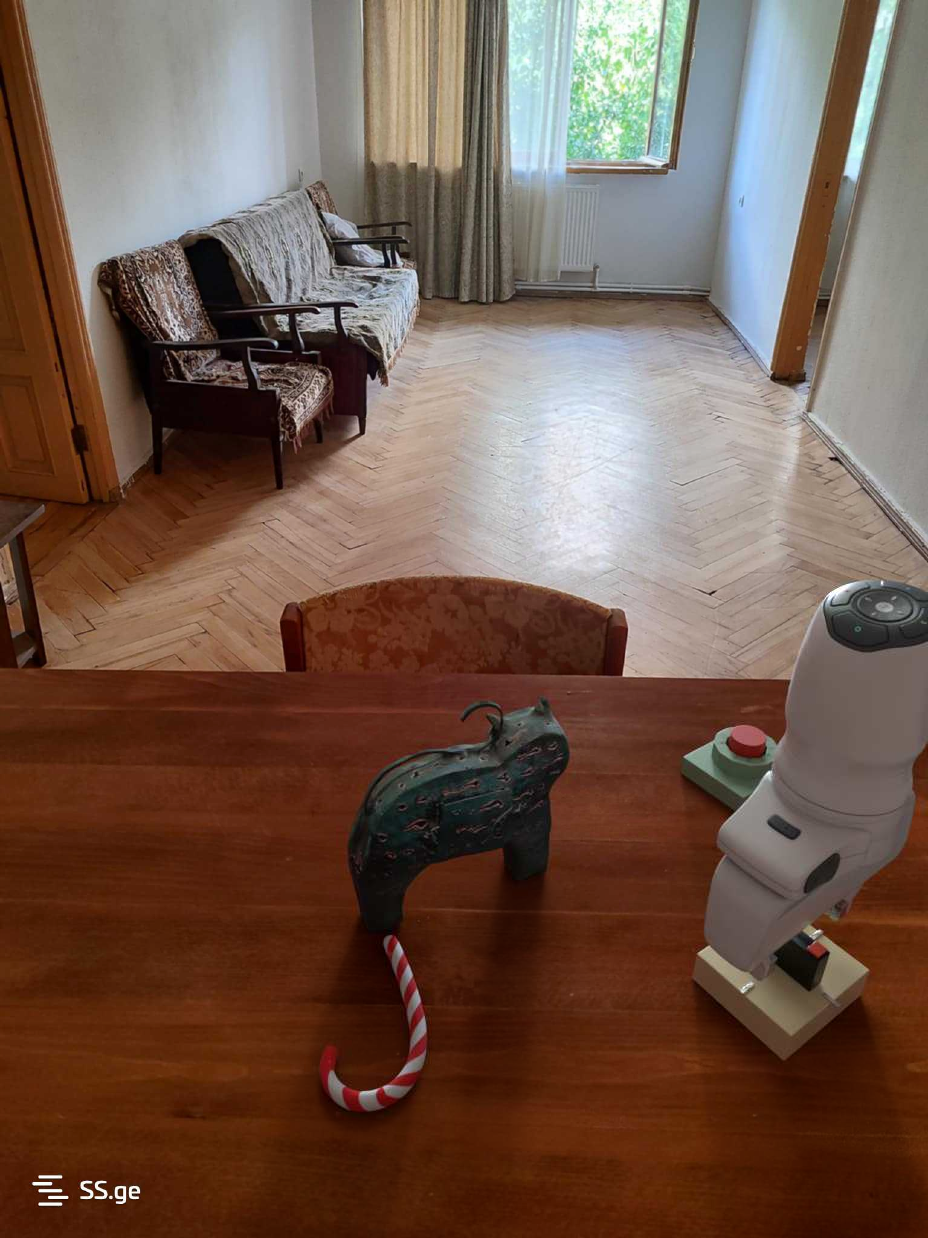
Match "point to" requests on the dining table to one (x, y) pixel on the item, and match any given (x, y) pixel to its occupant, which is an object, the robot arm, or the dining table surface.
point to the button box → (727, 769)
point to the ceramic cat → (458, 809)
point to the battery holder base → (783, 995)
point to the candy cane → (415, 1061)
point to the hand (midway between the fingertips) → (796, 940)
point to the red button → (747, 741)
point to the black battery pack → (803, 960)
